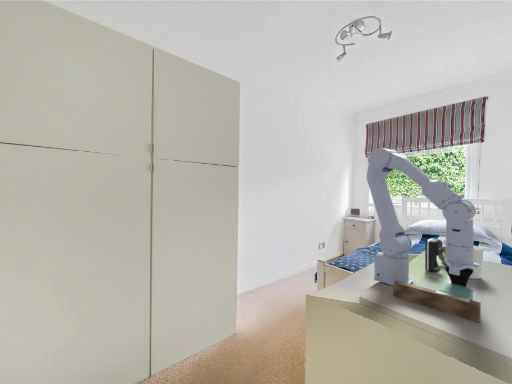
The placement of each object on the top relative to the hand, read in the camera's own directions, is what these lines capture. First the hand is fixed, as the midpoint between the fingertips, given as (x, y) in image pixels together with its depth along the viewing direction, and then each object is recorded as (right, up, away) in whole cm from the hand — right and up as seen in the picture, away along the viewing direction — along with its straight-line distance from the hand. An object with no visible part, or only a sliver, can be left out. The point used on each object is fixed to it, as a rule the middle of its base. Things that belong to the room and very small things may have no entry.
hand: (458, 293), depth 64 cm
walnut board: (-9, -2, -3) cm, 10 cm away
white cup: (+18, -1, +18) cm, 26 cm away
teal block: (-3, -2, -3) cm, 5 cm away
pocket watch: (+21, -1, +28) cm, 35 cm away
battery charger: (+11, -1, +23) cm, 26 cm away
